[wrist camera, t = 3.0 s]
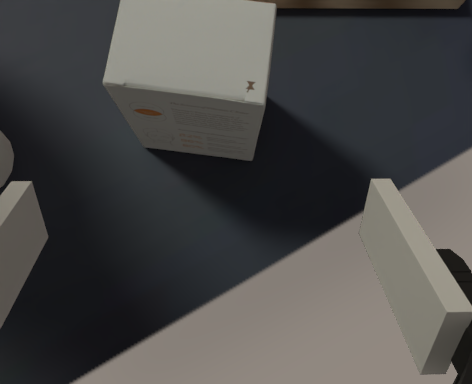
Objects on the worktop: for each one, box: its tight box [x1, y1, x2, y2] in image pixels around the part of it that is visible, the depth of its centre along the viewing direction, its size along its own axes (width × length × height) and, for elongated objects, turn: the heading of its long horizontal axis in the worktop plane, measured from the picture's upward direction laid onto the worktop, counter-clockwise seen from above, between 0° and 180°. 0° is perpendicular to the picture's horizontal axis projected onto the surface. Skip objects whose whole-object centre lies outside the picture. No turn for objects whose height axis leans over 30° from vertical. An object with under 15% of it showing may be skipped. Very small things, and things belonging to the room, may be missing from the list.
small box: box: [103, 0, 277, 161], centre depth 26 cm, size 8×6×10 cm
